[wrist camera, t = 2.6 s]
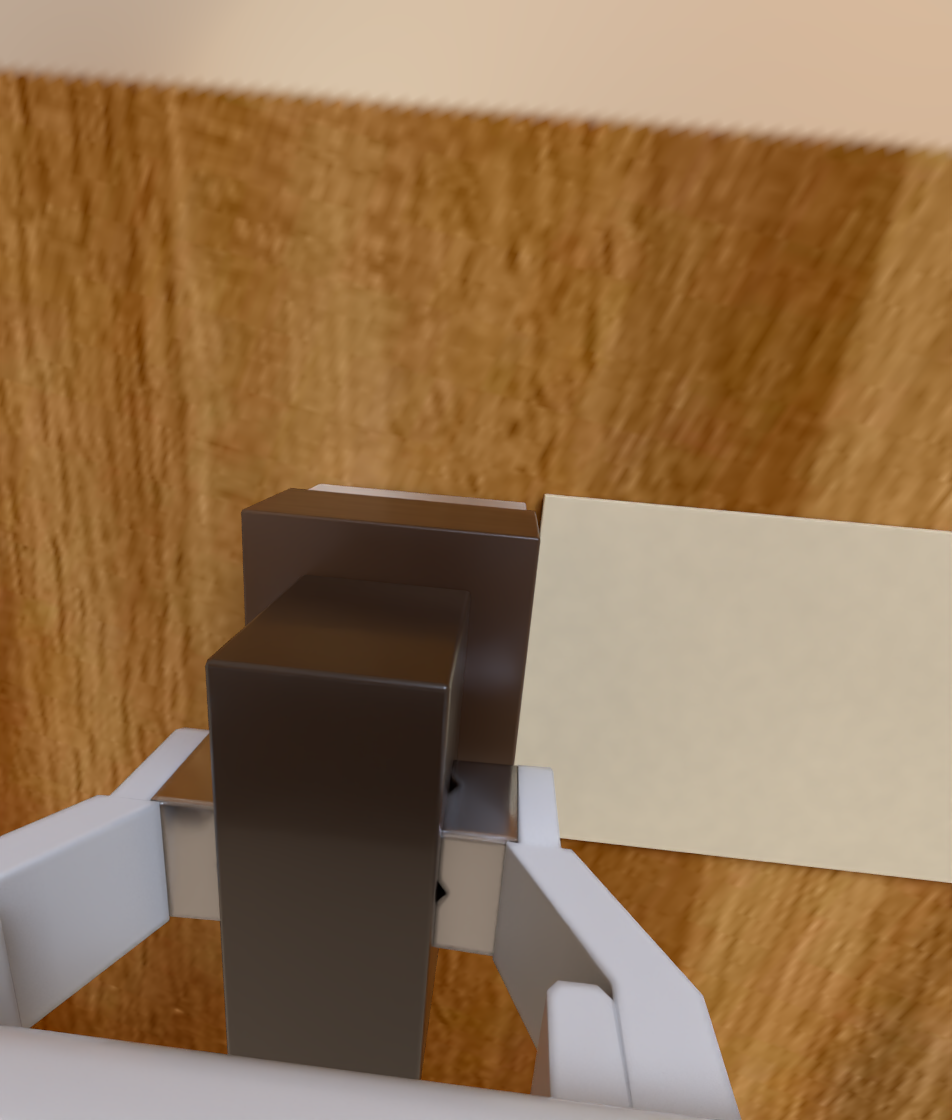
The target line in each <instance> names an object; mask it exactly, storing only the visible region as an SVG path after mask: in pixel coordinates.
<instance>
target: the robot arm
mask: <svg viewBox="0 0 952 1120" xmlns="http://www.w3.org/2000/svg"><path fill="white" fill-rule="evenodd" d="M438 882H439V885H438V892H437V898H436V907H435V919H434V932H433V945H432V947H437V948H444V949H450V950H457V951H463V952H470V953H476V954H483V955H489V956H493V961H494V963H495V965H496V967H497V969H498V971H499V973H500V975H501V977H502V979H503V981H504V983H505V985H506V987H507V990H508V992H509V994H510V996H511V998H512V1000H513V1002H514V1004H515V1006H516V1008H517V1010H518V1012H519V1014H520V1016H521V1018H522V1020H523V1022H524V1024H525V1026H526V1028H527V1030H528V1032H529V1034H530V1036H531V1038H532V1041H533V1043H534V1045H535V1047H536V1049H537V1056H536V1062H535V1068H534V1075H533V1081H532V1087H531V1093H530V1094H523V1093H515V1092H508V1091H500V1090H493V1089H485V1088H477V1087H470V1086H462V1085H455V1084H447V1083H440V1082H432V1081H424V1080H417V1079H409V1078H402V1077H394V1076H387V1075H379V1074H371V1073H364V1072H356V1071H349V1070H341V1069H333V1068H326V1067H318V1066H311V1065H303V1064H296V1063H288V1062H281V1061H273V1060H265V1059H258V1058H250V1057H243V1056H235V1055H228V1054H220V1053H213V1052H205V1051H197V1050H190V1049H182V1048H175V1047H167V1046H160V1045H152V1044H145V1043H137V1042H129V1041H122V1040H114V1039H107V1038H99V1037H92V1036H84V1035H77V1034H69V1033H62V1032H54V1031H46V1030H39V1029H31V1028H30V1027H32V1026H33V1025H34V1024H35V1023H37V1022H38V1021H39V1020H41V1019H42V1018H43V1017H45V1016H46V1015H47V1014H48V1013H50V1012H51V1011H52V1010H54V1009H55V1008H56V1007H58V1006H59V1005H60V1004H61V1003H63V1002H64V1001H65V1000H67V999H68V998H69V997H70V996H72V995H73V994H74V993H76V992H77V991H78V990H80V989H81V988H82V987H83V986H85V985H86V984H87V983H89V982H90V981H91V980H93V979H94V978H95V977H96V976H98V975H99V974H100V973H102V972H103V971H104V970H106V969H107V968H108V967H109V966H111V965H112V964H113V963H115V962H116V961H117V960H119V959H120V958H121V957H122V956H124V955H125V954H126V953H128V952H129V951H130V950H131V949H133V948H134V947H135V946H137V945H138V944H139V943H141V942H142V941H143V940H144V939H146V938H147V937H148V936H150V935H151V934H152V933H154V932H155V931H156V930H157V929H159V928H160V927H161V926H163V925H164V924H165V923H167V922H168V921H169V919H170V917H169V916H172V917H183V918H194V919H205V920H216V921H220V911H219V894H218V876H217V859H216V842H215V825H214V807H213V790H212V773H211V755H210V738H209V730H204V729H195V728H186V727H184V728H180V729H176V730H175V731H174V732H173V733H172V734H171V735H170V736H169V737H168V738H167V739H166V740H165V741H164V742H163V743H162V744H161V745H160V746H159V747H158V748H157V749H156V750H155V751H154V752H153V753H152V754H151V755H150V756H149V757H148V758H147V759H146V760H145V761H144V762H143V763H142V764H141V765H140V766H139V767H138V768H137V769H136V770H135V771H134V772H133V773H132V774H131V775H130V776H129V777H128V778H127V779H126V780H125V781H124V782H123V783H122V784H121V785H120V786H119V787H118V788H117V789H116V790H115V791H114V792H113V793H112V794H111V795H110V796H105V795H97V796H94V797H92V798H90V799H87V800H85V801H82V802H80V803H78V804H75V805H73V806H71V807H68V808H66V809H64V810H61V811H59V812H57V813H54V814H52V815H49V816H47V817H45V818H42V819H40V820H38V821H35V822H33V823H31V824H28V825H26V826H23V827H21V828H19V829H16V830H14V831H12V832H9V833H7V834H5V835H2V836H0V1120H741V1117H740V1114H739V1111H738V1107H737V1104H736V1101H735V1098H734V1094H733V1091H732V1088H731V1085H730V1081H729V1078H728V1075H727V1072H726V1068H725V1065H724V1062H723V1059H722V1055H721V1052H720V1049H719V1046H718V1042H717V1039H716V1036H715V1033H714V1030H713V1026H712V1023H711V1020H710V1017H709V1013H708V1010H707V1007H706V1004H705V1000H704V997H703V995H702V994H701V993H700V992H699V991H698V989H697V988H696V987H695V986H694V985H693V984H692V983H691V982H690V981H689V979H688V978H687V977H686V976H685V975H684V974H683V973H682V972H681V971H680V969H679V968H678V967H677V966H676V965H675V964H674V963H673V962H672V961H671V959H670V958H669V957H668V956H667V955H666V954H665V953H664V952H663V951H662V949H661V948H660V947H659V946H658V945H657V944H656V943H655V942H654V941H653V939H652V938H651V937H650V936H649V935H648V934H647V933H646V932H645V931H644V929H643V928H642V927H641V926H640V925H639V924H638V923H637V922H636V921H635V919H634V918H633V917H632V916H631V915H630V914H629V913H628V912H627V911H626V909H625V908H624V907H623V906H622V905H621V904H620V903H619V902H618V901H617V899H616V898H615V897H614V896H613V895H612V894H611V893H610V892H609V891H608V889H607V888H606V887H605V886H604V885H603V884H602V883H601V882H600V881H599V879H598V878H597V877H596V876H595V875H594V874H593V873H592V872H591V871H590V869H589V868H588V867H587V866H586V865H585V864H584V863H583V862H582V861H581V859H580V858H579V857H578V856H577V855H576V854H575V853H574V852H573V851H572V850H571V849H563V848H561V842H560V833H559V823H558V813H557V804H556V794H555V784H554V774H553V770H552V769H551V768H550V767H541V766H528V765H518V766H516V765H506V764H496V763H486V762H476V761H466V760H456V759H454V760H453V765H452V771H451V778H450V791H449V793H448V795H447V801H446V807H445V814H444V820H443V826H442V832H441V843H440V856H439V868H438Z"/></svg>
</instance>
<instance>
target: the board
mask: <svg viewBox="0 0 952 1120" xmlns="http://www.w3.org/2000/svg"><path fill="white" fill-rule="evenodd" d="M539 534H540V540H541V541H540V550H539V558H538V567H537V575H536V584H535V592H534V601H533V609H532V618H531V626H530V635H529V643H528V652H527V660H526V669H525V677H524V686H523V694H522V703H521V711H520V720H519V728H518V737H517V745H516V754H515V762H514V765H516V766H518V765H528V766H541V767H550V768H551V769H552V770H553V774H554V784H555V794H556V804H557V813H558V823H559V833H560V838H564V839H573V840H582V841H590V842H599V843H608V844H616V845H625V846H634V847H643V848H651V849H660V850H669V851H677V852H686V853H695V854H703V855H712V856H721V857H729V858H738V859H747V860H756V861H764V862H773V863H782V864H790V865H799V866H808V867H816V868H825V869H834V870H843V871H851V872H860V873H869V874H877V875H886V876H895V877H903V878H912V879H921V880H930V881H938V882H947V883H952V531H942V530H931V529H920V528H909V527H898V526H887V525H877V524H866V523H855V522H844V521H833V520H822V519H812V518H801V517H790V516H779V515H768V514H757V513H747V512H736V511H725V510H714V509H703V508H692V507H682V506H671V505H660V504H649V503H638V502H627V501H617V500H606V499H595V498H584V497H573V496H563V495H552V494H544V499H543V508H542V516H541V525H540V533H539Z"/></svg>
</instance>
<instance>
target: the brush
mask: <svg viewBox="0 0 952 1120" xmlns="http://www.w3.org/2000/svg"><path fill="white" fill-rule="evenodd" d="M241 517H242V545H243V574H244V602H245V627H244V628H243V629H242V630H241V631H240V632H238V633H237V634H236V635H235V636H234V637H233V638H232V639H230V640H229V641H228V642H227V643H226V644H225V645H224V646H223V647H221V648H220V649H219V650H218V651H217V652H216V653H215V654H214V655H212V656H211V657H210V658H209V659H208V660H207V663H206V666H205V669H206V686H207V704H208V721H209V738H210V755H211V773H212V790H213V807H214V825H215V842H216V859H217V876H218V894H219V911H220V928H221V946H222V963H223V980H224V998H225V1015H226V1032H227V1049H228V1055H235V1056H243V1057H250V1058H258V1059H265V1060H273V1061H281V1062H288V1063H296V1064H303V1065H311V1066H318V1067H326V1068H333V1069H341V1070H349V1071H356V1072H364V1073H371V1074H379V1075H387V1076H394V1077H402V1078H409V1079H417V1080H421V1075H422V1068H423V1061H424V1053H425V1046H426V1039H427V1031H428V1024H429V1017H430V1009H431V1002H432V994H433V987H434V980H435V972H436V965H437V958H438V950H439V948H437V947H432V945H433V932H434V919H435V907H436V898H437V892H438V885H439V882H438V868H439V856H440V843H441V832H442V826H443V820H444V814H445V807H446V801H447V795H448V793H449V791H450V778H451V771H452V765H453V760H454V759H456V760H466V761H476V762H486V763H496V764H506V765H514V762H515V754H516V745H517V737H518V728H519V720H520V711H521V703H522V694H523V686H524V677H525V669H526V660H527V652H528V643H529V635H530V626H531V618H532V609H533V601H534V592H535V584H536V575H537V567H538V558H539V550H540V541H541V540H540V534H539V528H538V522H537V516H536V512H535V511H531V510H526V504H525V503H521V502H510V501H500V500H489V499H478V498H467V497H457V496H446V495H435V494H424V493H414V492H403V491H392V490H381V489H370V488H360V487H349V486H338V485H327V484H318V485H316V486H314V487H312V488H310V489H308V490H306V489H295V488H290V489H288V490H285V491H283V492H281V493H279V494H276V495H274V496H272V497H270V498H268V499H265V500H263V501H261V502H259V503H256V504H254V505H252V506H250V507H247V508H245V509H243V510H242V512H241Z"/></svg>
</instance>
